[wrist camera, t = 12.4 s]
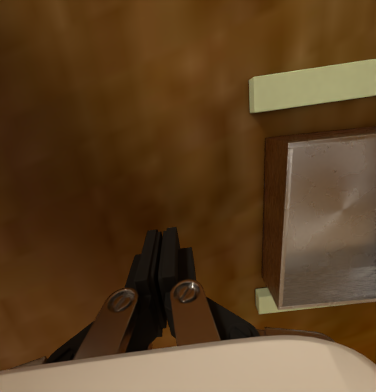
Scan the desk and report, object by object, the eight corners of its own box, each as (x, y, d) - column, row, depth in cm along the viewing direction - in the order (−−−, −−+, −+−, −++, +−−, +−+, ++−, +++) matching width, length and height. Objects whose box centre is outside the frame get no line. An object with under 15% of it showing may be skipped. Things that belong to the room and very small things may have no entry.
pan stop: (248, 80, 13) (259, 73, 11) (493, 43, 13) (546, 30, 11) (255, 305, 20) (263, 324, 18) (418, 286, 19) (444, 304, 17)
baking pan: (265, 137, 14) (288, 142, 11) (441, 119, 14) (518, 118, 11) (261, 276, 19) (278, 310, 15) (398, 264, 18) (445, 295, 15)
